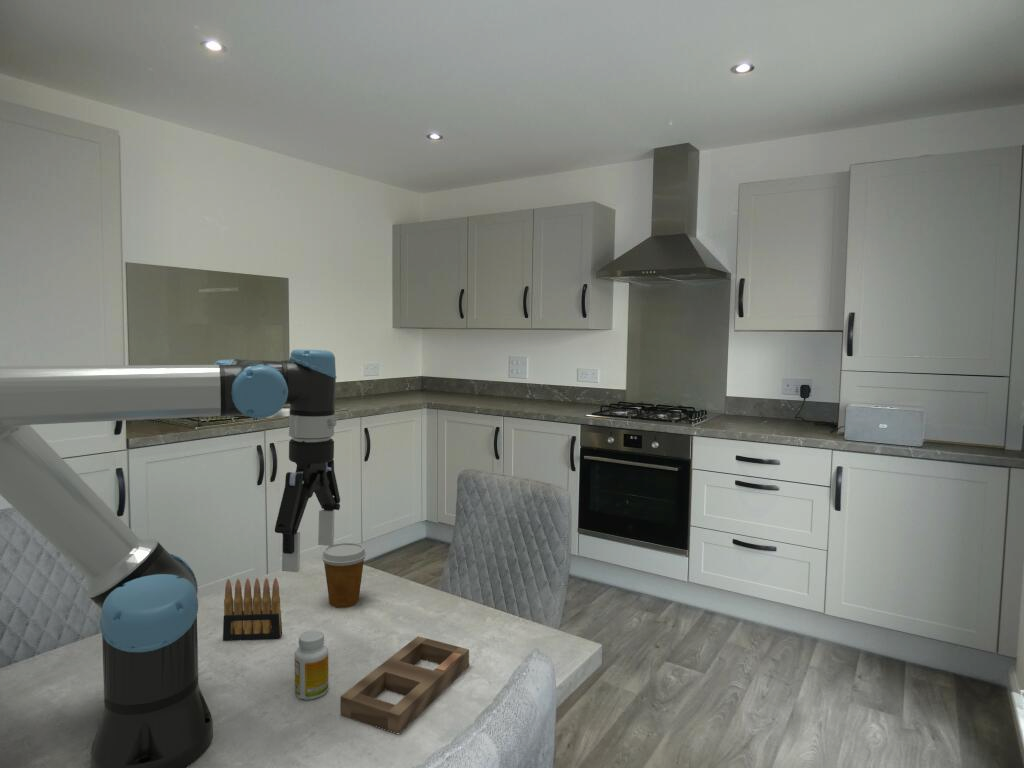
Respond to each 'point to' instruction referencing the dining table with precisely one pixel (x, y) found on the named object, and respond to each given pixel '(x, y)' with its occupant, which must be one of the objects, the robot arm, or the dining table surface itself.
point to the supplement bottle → (311, 666)
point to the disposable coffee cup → (343, 573)
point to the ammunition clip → (252, 612)
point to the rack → (404, 684)
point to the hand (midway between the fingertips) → (309, 557)
